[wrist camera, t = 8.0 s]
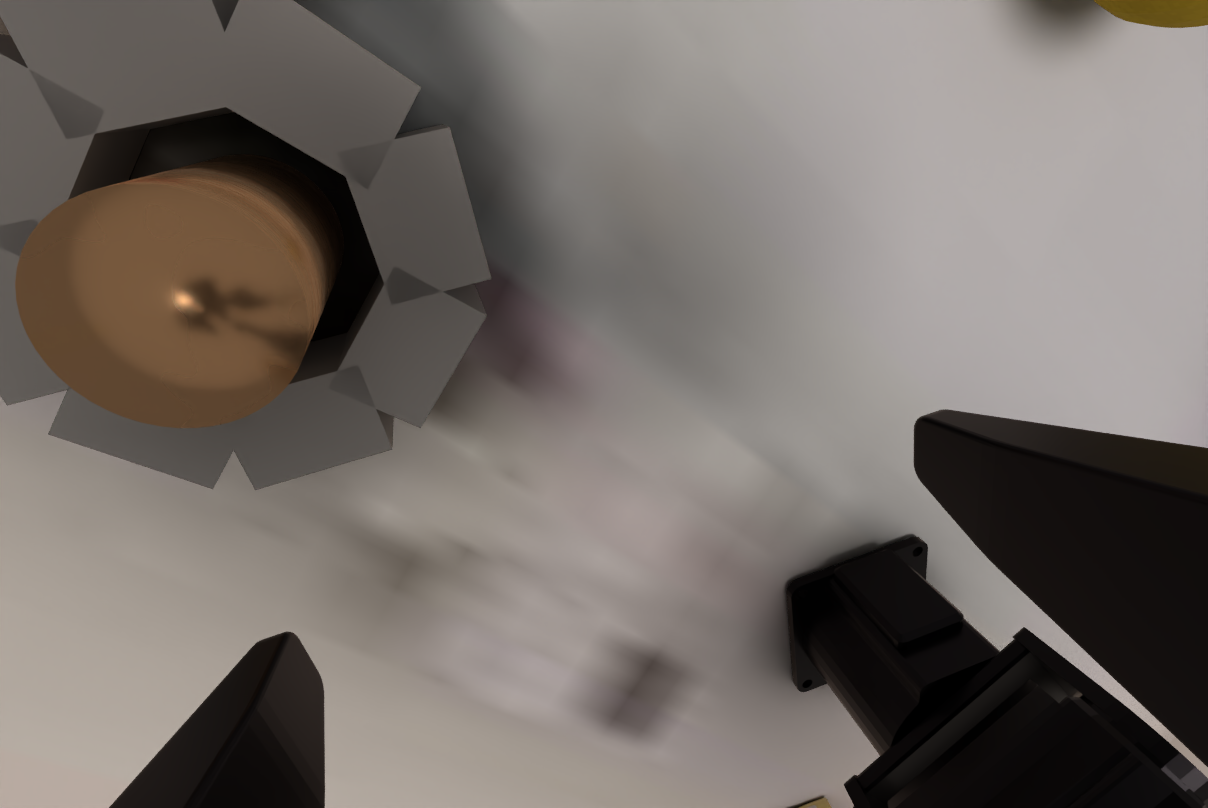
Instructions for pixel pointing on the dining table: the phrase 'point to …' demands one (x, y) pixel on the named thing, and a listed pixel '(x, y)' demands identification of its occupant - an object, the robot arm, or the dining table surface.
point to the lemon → (1159, 12)
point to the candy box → (817, 804)
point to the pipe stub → (182, 289)
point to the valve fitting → (299, 117)
